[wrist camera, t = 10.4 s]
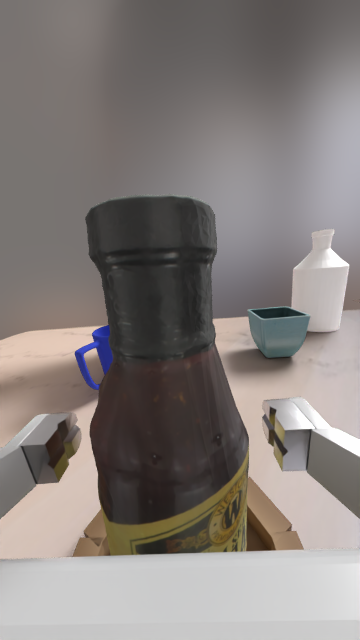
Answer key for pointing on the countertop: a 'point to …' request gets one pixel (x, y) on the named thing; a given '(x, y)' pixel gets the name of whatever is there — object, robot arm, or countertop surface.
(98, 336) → the mug
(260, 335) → the flower pot
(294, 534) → the tray
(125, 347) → the sauce bottle
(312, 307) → the bottle
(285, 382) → the countertop surface
